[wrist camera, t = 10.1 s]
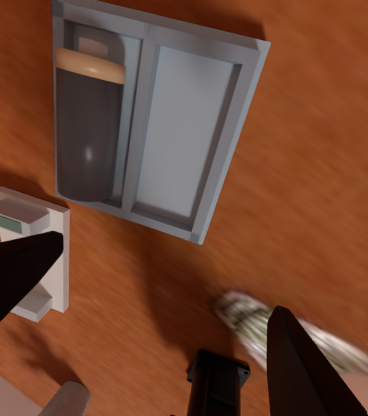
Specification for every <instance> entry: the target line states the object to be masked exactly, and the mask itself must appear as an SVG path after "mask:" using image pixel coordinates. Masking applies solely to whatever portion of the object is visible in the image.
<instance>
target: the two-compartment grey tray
mask: <svg viewBox="0 0 368 416" xmlns="http://www.w3.org/2000/svg"><path fill="white" fill-rule="evenodd" d="M52 30H53V85H54V140H55V196H58V197H60V198H63V199H66V200H69V201H72V202H75V203H78V204H81V205H84V206H87V207H90V208H93V209H96V210H99V211H102V212H105V213H108V214H111V215H114V216H117V217H120V218H123V219H126V220H129V221H132V222H135V223H138V224H141V225H144V226H147V227H150V228H153V229H156V230H159V231H162V232H165V233H168V234H171V235H174V236H177V237H180V238H183V239H186V240H189V241H192V242H195V243H198V244H201V245H202V244H203V241H204V238H205V235H206V232H207V229H208V227H209V224H210V221H211V218H212V215H213V212H214V209H215V206H216V203H217V200H218V197H219V194H220V191H221V188H222V185H223V182H224V180H225V177H226V174H227V171H228V168H229V165H230V162H231V159H232V156H233V153H234V150H235V147H236V144H237V141H238V138H239V136H240V133H241V130H242V127H243V124H244V121H245V118H246V115H247V112H248V109H249V106H250V103H251V100H252V97H253V94H254V92H255V89H256V86H257V83H258V80H259V77H260V74H261V71H262V68H263V65H264V62H265V59H266V56H267V53H268V50H269V47H270V45H271V42H267V41H263V40H259V39H255V38H251V37H247V36H242V35H238V34H234V33H230V32H226V31H222V30H217V29H213V28H209V27H205V26H201V25H197V24H193V23H188V22H184V21H180V20H176V19H172V18H168V17H164V16H159V15H155V14H151V13H147V12H143V11H139V10H134V9H130V8H126V7H122V6H118V5H114V4H110V3H105V2H101V1H97V0H58V1H55V0H52ZM79 37H82V38H86V39H90V40H93V41H96V42H99V43H102V44H105V45H107V46H108V51H107V61H111V62H114V63H117V64H120V65H123V66H126V76H125V85H124V94H123V103H122V113H121V122H120V131H119V140H118V150H117V159H116V168H115V177H114V187H113V194H112V196H111V197H109V198H108V199H106V200H102V201H97V202H81V201H75V200H71V199H68V198H66V197H64V196H62V195H61V194H60V193H59V192H58V190H57V126H56V49H55V47H61V48H65V49H68V50H72V51H76V52H79Z"/></svg>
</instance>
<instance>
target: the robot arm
mask: <svg viewBox="0 0 368 416" xmlns="http://www.w3.org/2000/svg"><path fill="white" fill-rule="evenodd" d="M63 250H64V237H63V234H62V233H60V232H57V231H49V232H44V233H40V234H35V235H31V236H27V237H22V238H18V239H13V240H9V241H4V242H0V321H1V320H2V319H3V318H4V317H5V316H6V315H7V314H8V313H9V312H10V311H11V310H12V309H13V308H14V307H15V306H16V305H17V304H18V303H19V302H20V301H21V300H22V299H23V298H24V297H25V296H26V295H27V294H28V293H29V292H30V291H31V290H32V289H33V288H34V287H35V286H36V285H37V284H38V283H39V282H40V280H41V279H42V278H43V277H44V276H45V274H46V273H47V272H48V271H49V269H50V268H51V267H52V266H53V265H54V263H55V262H56V261H57V260H58V258H59V257H60V256H61V255H62V253H63ZM250 374H251V373H250V368H248V367H246V366H243V365H240V364H238V363H235V362H233V361H230V360H227V359H225V358H222V357H219V356H217V355H214V354H212V353H209V352H206V351H204V350H199V351H198V353H197V355H196V357H195V360H194V362H193V364H192V366H191V369H190V371H189V373H188V375H187V381H188V382H190V383H192V387H191V393H190V399H189V405H188V411H187V416H240V389H241V388H242V386H243V385H244V383H245V382H246V380H247V379H248V377H249V376H250ZM267 380H268V392H269V403H270V415H271V416H368V414H367V411H366V410H365V408H364V407H363V406H362V405H361V403H360V402H359V401H358V399H357V398H356V397H355V395H354V394H353V393H352V391H351V390H350V389H349V387H348V386H347V385H346V383H345V382H344V381H343V380H342V378H341V377H340V376H339V374H338V373H337V372H336V370H335V369H334V368H333V366H332V365H331V364H330V362H329V361H328V360H327V358H326V357H325V356H324V354H323V353H322V352H321V351H320V349H319V348H318V347H317V345H316V344H315V343H314V341H313V340H312V339H311V337H310V336H309V335H308V333H307V332H306V331H305V329H304V328H303V327H302V326H301V324H300V323H299V322H298V320H297V319H296V318H295V316H294V315H293V314H292V312H291V311H290V310H289V309H288V308H285V307H282V306H279V305H278V306H276V307H275V309H274V311H273V312H272V314H271V316H270V318H269V320H268V324H267ZM170 416H175V415H170Z"/></svg>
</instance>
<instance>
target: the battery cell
mask: <svg viewBox="0 0 368 416" xmlns="http://www.w3.org/2000/svg"><path fill="white" fill-rule="evenodd" d="M55 49H56V126H57V190H58V192H59V193H60V194H61V195H62V196H64V197H66V198H68V199H71V200H75V201H81V202H97V201H102V200H106V199H108V198H109V197H111V196H112V194H113V187H114V177H115V168H116V159H117V150H118V140H119V131H120V122H121V113H122V103H123V94H124V85H125V76H126V66H123V65H120V64H117V63H114V62H111V61H107V51H108V46H107V45H105V44H102V43H99V42H96V41H93V40H90V39H86V38H82V37H79V52H76V51H72V50H68V49H65V48H61V47H55Z"/></svg>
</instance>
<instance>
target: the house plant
mask: <svg viewBox="0 0 368 416" xmlns="http://www.w3.org/2000/svg"><path fill="white" fill-rule="evenodd" d="M90 398H91V394H90V392H89V391H88V390H87V389H86V388H85V387H84V386H83V385H81V384H79V383H77V382H74V381H67V382H65V383H64V384H63V386H62V387H61V388H60V389H59V390H58V392H57V393H56V394H55V395H54V397H53V398H52V399H51V400H50V401H49V403H48V404H47V405H46V406H45V408H44V409H43V410H42V411H41V413H40V414H39V415H38V416H84V414H85V412H86V409H87V406H88V403H89V401H90Z"/></svg>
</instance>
